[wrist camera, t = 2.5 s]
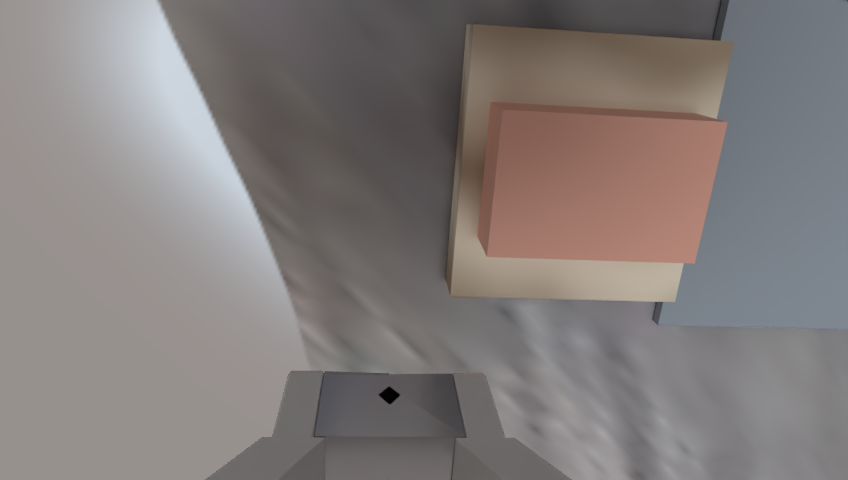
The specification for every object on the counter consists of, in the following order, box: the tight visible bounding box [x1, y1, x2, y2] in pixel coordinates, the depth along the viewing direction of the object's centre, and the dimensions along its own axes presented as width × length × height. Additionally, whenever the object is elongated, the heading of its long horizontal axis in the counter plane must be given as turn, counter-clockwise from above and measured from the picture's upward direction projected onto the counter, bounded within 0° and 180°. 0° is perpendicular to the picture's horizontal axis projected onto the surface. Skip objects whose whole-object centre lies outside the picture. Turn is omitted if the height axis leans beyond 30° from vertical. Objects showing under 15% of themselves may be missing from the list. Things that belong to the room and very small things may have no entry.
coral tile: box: [477, 102, 728, 264], centre depth 25 cm, size 9×6×2 cm, turn 86°
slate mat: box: [653, 0, 848, 329], centre depth 29 cm, size 16×11×1 cm
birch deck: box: [446, 24, 734, 302], centre depth 27 cm, size 12×11×2 cm
